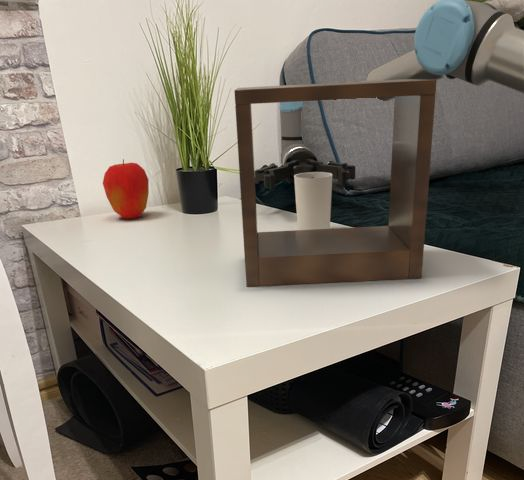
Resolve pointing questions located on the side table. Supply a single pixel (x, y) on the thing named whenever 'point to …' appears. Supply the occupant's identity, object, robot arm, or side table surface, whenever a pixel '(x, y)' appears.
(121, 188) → the apple
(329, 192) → the drinking glass
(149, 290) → the side table surface
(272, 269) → the shelf unit
